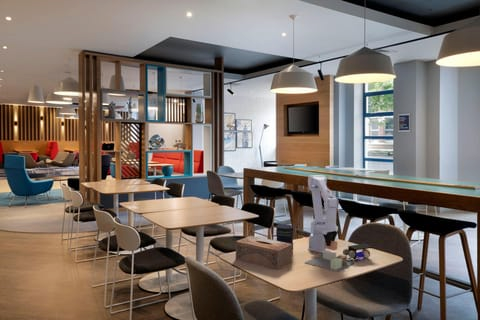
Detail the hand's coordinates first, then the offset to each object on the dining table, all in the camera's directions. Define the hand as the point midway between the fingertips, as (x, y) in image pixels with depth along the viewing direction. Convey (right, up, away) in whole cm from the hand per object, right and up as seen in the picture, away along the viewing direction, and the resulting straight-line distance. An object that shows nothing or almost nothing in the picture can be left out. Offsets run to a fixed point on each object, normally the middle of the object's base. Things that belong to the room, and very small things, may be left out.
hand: (329, 245), depth 202 cm
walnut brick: (+4, -8, -8) cm, 12 cm away
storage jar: (-23, -7, +11) cm, 27 cm away
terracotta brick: (0, -2, 0) cm, 2 cm away
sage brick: (0, -8, -13) cm, 16 cm away
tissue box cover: (-36, -8, -4) cm, 37 cm away
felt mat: (-1, -8, -5) cm, 9 cm away
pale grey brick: (0, -7, +1) cm, 7 cm away
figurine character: (+15, -8, +1) cm, 17 cm away
